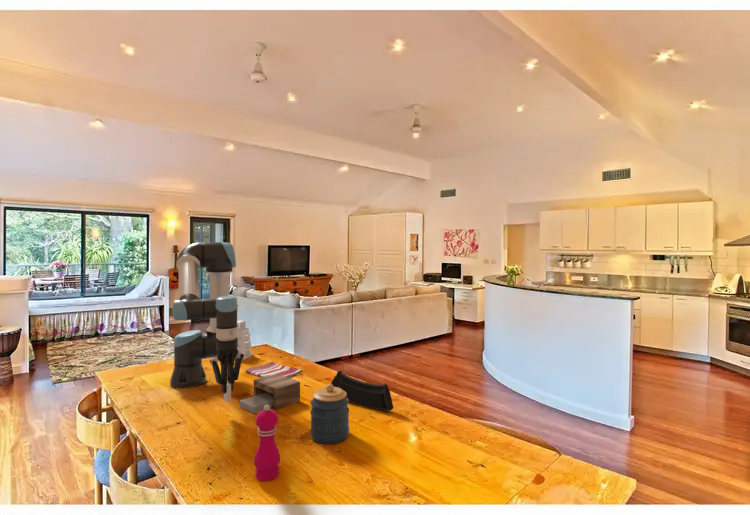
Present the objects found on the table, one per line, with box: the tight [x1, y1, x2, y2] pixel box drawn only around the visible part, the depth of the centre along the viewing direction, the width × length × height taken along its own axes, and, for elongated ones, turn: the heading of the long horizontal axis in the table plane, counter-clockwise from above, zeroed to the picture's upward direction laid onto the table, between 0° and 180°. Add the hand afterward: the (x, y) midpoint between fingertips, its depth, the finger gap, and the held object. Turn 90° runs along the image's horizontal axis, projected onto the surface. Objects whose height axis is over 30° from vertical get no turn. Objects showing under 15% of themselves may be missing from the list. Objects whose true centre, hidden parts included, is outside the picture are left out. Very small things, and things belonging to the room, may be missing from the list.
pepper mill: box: [253, 405, 281, 482], centre depth 119 cm, size 7×7×20 cm
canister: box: [310, 383, 350, 445], centre depth 143 cm, size 13×13×18 cm
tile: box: [239, 392, 274, 414], centre depth 171 cm, size 10×18×3 cm, turn 139°
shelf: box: [253, 374, 301, 410], centre depth 175 cm, size 16×12×8 cm
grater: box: [235, 320, 254, 361], centre depth 239 cm, size 10×10×20 cm
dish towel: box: [245, 361, 303, 378], centre depth 211 cm, size 17×23×3 cm
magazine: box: [330, 370, 394, 411], centre depth 171 cm, size 17×3×30 cm
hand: (227, 400), depth 159 cm, fingers closed
